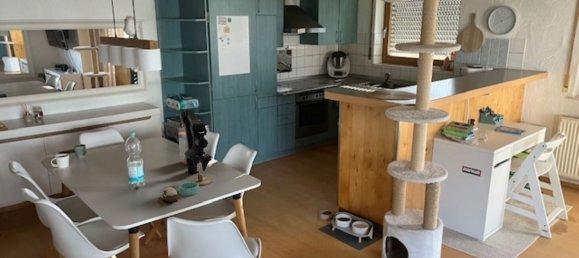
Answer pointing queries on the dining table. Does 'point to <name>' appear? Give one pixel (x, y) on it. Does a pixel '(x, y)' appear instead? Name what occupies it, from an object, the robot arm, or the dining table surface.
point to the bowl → (189, 188)
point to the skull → (168, 196)
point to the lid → (201, 180)
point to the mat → (207, 184)
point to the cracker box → (182, 146)
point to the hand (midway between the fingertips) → (199, 168)
